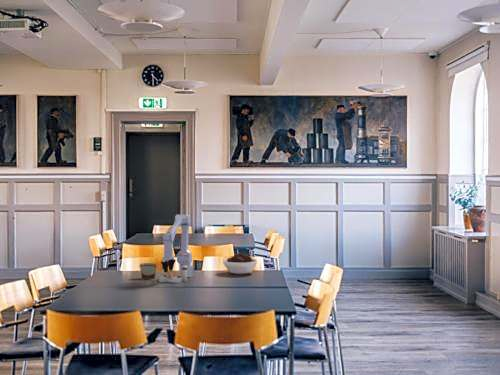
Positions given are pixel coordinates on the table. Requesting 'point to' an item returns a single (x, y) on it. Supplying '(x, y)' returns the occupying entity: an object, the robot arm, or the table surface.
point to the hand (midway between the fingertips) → (168, 271)
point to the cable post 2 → (184, 273)
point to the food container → (148, 270)
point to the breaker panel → (171, 279)
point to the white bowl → (240, 264)
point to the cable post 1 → (163, 272)
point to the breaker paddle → (170, 274)
